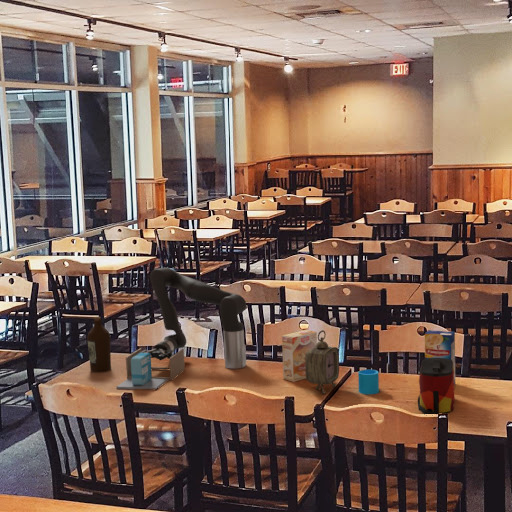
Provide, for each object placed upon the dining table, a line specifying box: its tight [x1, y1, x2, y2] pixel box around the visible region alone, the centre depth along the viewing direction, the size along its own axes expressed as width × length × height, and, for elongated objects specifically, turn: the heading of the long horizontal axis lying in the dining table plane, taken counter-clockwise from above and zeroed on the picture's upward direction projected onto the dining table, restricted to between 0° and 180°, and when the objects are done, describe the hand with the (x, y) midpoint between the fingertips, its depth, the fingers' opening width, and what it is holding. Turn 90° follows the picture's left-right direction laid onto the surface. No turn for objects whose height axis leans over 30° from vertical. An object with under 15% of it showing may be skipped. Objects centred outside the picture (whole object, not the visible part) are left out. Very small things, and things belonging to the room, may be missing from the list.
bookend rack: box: [125, 347, 186, 381], centre depth 394 cm, size 21×17×10 cm
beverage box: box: [424, 329, 456, 386], centre depth 358 cm, size 7×11×22 cm, turn 65°
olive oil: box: [86, 316, 112, 373], centre depth 406 cm, size 11×11×25 cm
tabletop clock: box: [305, 329, 340, 395], centre depth 358 cm, size 14×9×25 cm, turn 151°
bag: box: [416, 358, 456, 415], centre depth 332 cm, size 30×14×16 cm, turn 167°
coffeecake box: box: [281, 329, 318, 382], centre depth 379 cm, size 15×7×20 cm, turn 131°
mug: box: [357, 369, 380, 395], centre depth 356 cm, size 12×8×8 cm
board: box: [116, 378, 168, 390], centre depth 378 cm, size 18×14×1 cm
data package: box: [131, 353, 153, 385], centre depth 378 cm, size 12×4×12 cm, turn 165°
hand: (150, 358), depth 388 cm, fingers open, 8 cm apart
